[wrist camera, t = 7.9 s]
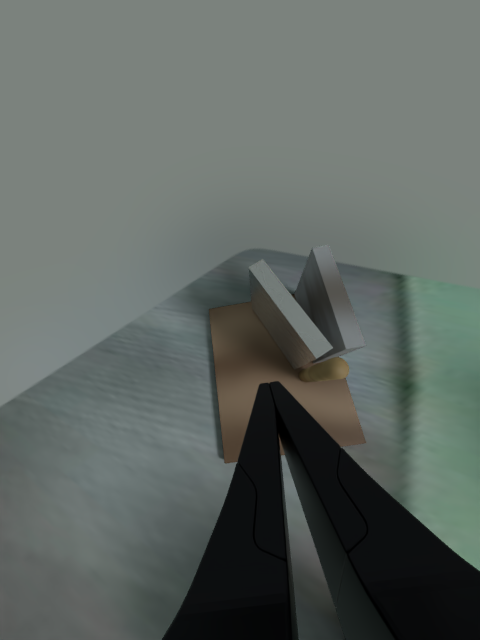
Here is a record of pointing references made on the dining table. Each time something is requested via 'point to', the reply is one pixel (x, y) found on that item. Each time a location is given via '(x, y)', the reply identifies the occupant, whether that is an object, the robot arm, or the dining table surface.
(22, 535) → the dining table surface
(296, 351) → the swinging leaf
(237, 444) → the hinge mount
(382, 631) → the robot arm
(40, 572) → the dining table surface
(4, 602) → the dining table surface
